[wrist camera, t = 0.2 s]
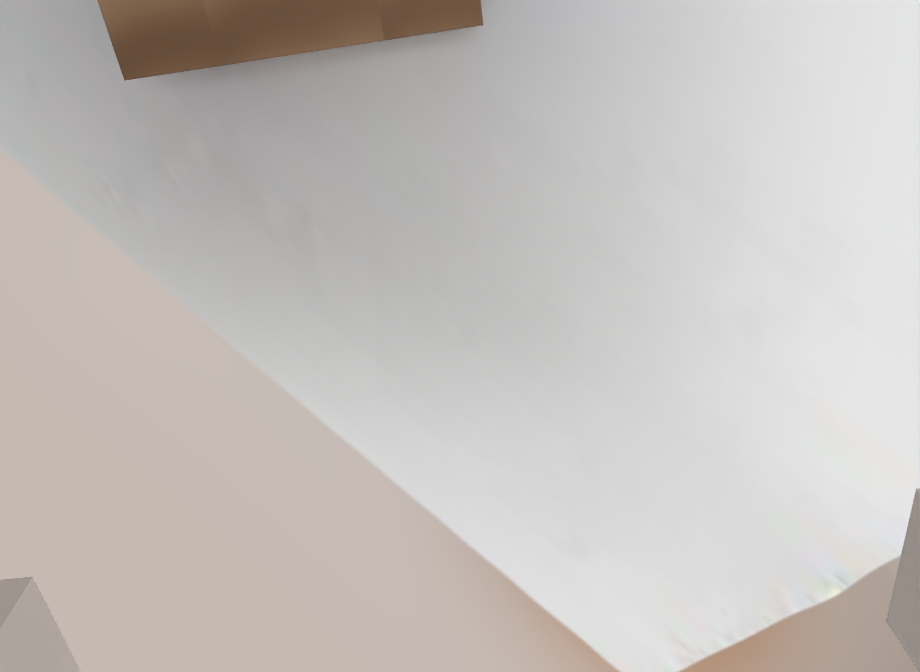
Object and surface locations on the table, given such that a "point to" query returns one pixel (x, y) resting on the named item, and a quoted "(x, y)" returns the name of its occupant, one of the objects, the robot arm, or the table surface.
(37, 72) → the table surface
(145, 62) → the socket block
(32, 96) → the table surface
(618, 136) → the table surface
